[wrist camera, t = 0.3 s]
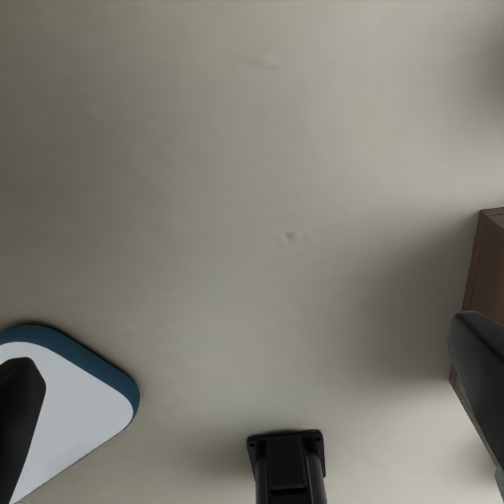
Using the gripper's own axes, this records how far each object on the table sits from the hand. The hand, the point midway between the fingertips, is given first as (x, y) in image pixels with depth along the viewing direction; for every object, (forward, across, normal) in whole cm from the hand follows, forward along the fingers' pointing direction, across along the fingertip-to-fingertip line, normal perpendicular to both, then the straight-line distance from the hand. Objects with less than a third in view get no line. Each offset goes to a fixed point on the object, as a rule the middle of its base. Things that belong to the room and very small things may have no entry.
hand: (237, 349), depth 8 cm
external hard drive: (+15, +22, +19) cm, 33 cm away
